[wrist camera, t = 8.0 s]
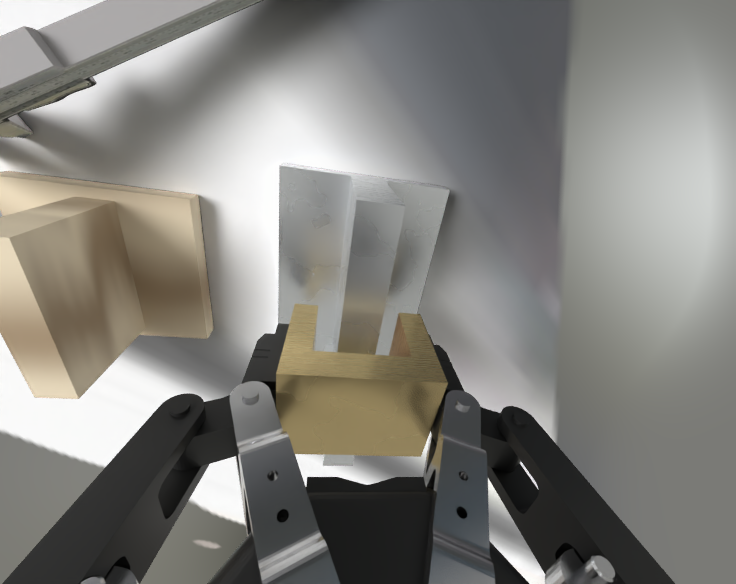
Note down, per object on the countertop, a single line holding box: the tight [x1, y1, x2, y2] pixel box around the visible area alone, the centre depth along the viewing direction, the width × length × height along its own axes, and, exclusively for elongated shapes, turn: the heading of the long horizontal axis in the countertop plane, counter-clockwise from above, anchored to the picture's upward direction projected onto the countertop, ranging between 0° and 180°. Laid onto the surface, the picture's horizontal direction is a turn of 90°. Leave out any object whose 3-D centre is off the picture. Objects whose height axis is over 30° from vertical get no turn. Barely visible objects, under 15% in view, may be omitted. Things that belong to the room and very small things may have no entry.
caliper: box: [0, 0, 263, 138], centre depth 9 cm, size 20×1×6 cm, turn 112°
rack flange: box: [278, 163, 450, 466], centre depth 16 cm, size 14×8×6 cm, turn 172°
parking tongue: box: [0, 171, 214, 399], centre depth 13 cm, size 8×8×6 cm
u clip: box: [276, 304, 448, 457], centre depth 13 cm, size 4×6×4 cm
